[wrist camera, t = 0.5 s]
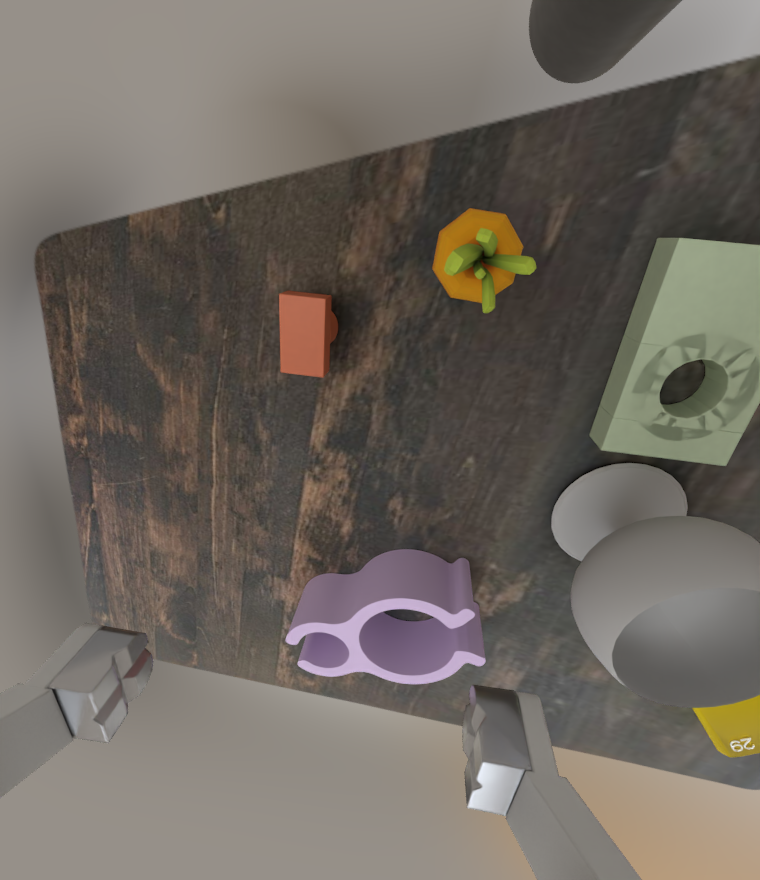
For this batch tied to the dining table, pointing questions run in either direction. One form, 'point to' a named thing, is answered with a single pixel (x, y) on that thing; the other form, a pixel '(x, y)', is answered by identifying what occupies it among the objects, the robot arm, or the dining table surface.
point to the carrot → (479, 257)
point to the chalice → (661, 588)
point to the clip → (390, 620)
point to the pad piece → (306, 333)
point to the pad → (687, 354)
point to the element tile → (733, 726)
